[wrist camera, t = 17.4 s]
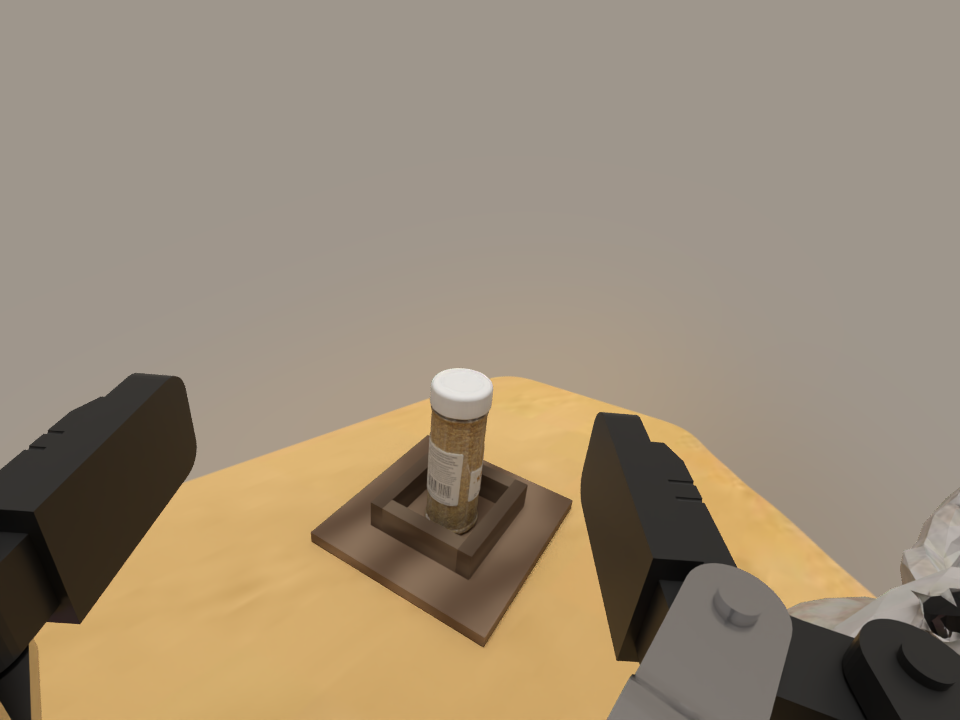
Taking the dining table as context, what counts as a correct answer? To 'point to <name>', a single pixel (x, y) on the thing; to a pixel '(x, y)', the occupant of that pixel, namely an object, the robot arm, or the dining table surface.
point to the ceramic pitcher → (908, 586)
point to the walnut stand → (446, 542)
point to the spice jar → (457, 447)
